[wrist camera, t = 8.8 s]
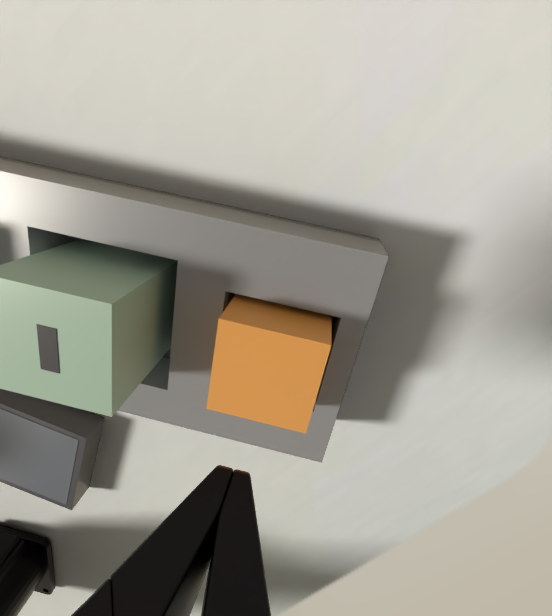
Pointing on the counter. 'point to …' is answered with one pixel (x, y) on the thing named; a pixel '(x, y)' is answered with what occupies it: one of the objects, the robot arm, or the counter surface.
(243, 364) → the power button
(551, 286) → the counter surface
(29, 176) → the power strip
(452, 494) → the counter surface
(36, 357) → the cube
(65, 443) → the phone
